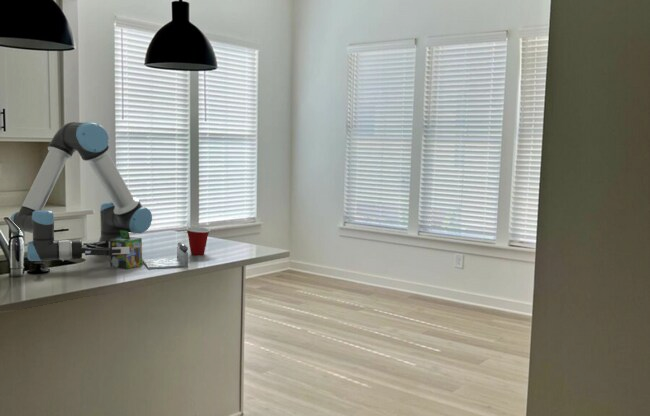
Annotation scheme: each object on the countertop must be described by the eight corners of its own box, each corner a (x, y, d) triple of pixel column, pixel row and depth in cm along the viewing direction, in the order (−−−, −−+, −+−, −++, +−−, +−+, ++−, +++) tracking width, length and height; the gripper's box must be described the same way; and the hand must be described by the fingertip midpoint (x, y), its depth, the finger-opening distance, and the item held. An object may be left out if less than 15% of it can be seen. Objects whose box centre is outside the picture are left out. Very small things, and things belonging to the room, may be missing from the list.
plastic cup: (204, 257, 274) (204, 230, 273) (182, 255, 276) (182, 229, 275) (213, 253, 285) (213, 227, 283) (191, 251, 287) (192, 226, 285)
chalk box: (142, 265, 252) (142, 230, 251) (126, 269, 244) (125, 232, 243) (126, 263, 257) (126, 228, 255) (109, 266, 249) (109, 230, 247)
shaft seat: (142, 261, 261) (142, 242, 260) (181, 259, 267) (181, 240, 267) (148, 269, 246) (148, 249, 245) (189, 266, 253) (189, 247, 252)
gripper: (70, 253, 252) (123, 250, 261) (72, 265, 230) (131, 262, 239) (69, 235, 252) (123, 233, 260) (72, 245, 229) (131, 243, 238)
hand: (127, 247), depth 249 cm, fingers open, 13 cm apart
